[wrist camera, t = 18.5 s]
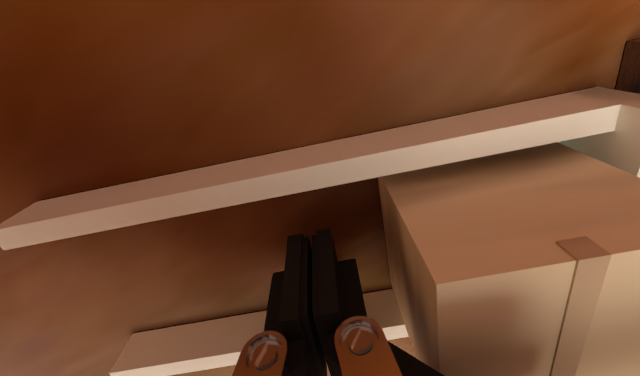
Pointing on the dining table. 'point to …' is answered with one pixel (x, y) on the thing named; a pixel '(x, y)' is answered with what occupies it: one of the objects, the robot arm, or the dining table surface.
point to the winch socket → (630, 68)
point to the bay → (314, 173)
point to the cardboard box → (517, 264)
